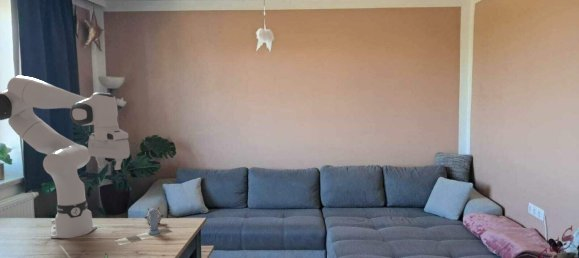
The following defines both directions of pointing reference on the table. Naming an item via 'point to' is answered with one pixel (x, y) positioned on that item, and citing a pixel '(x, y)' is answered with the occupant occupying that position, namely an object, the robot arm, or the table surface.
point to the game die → (157, 216)
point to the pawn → (153, 222)
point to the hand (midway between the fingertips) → (109, 168)
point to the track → (141, 237)
